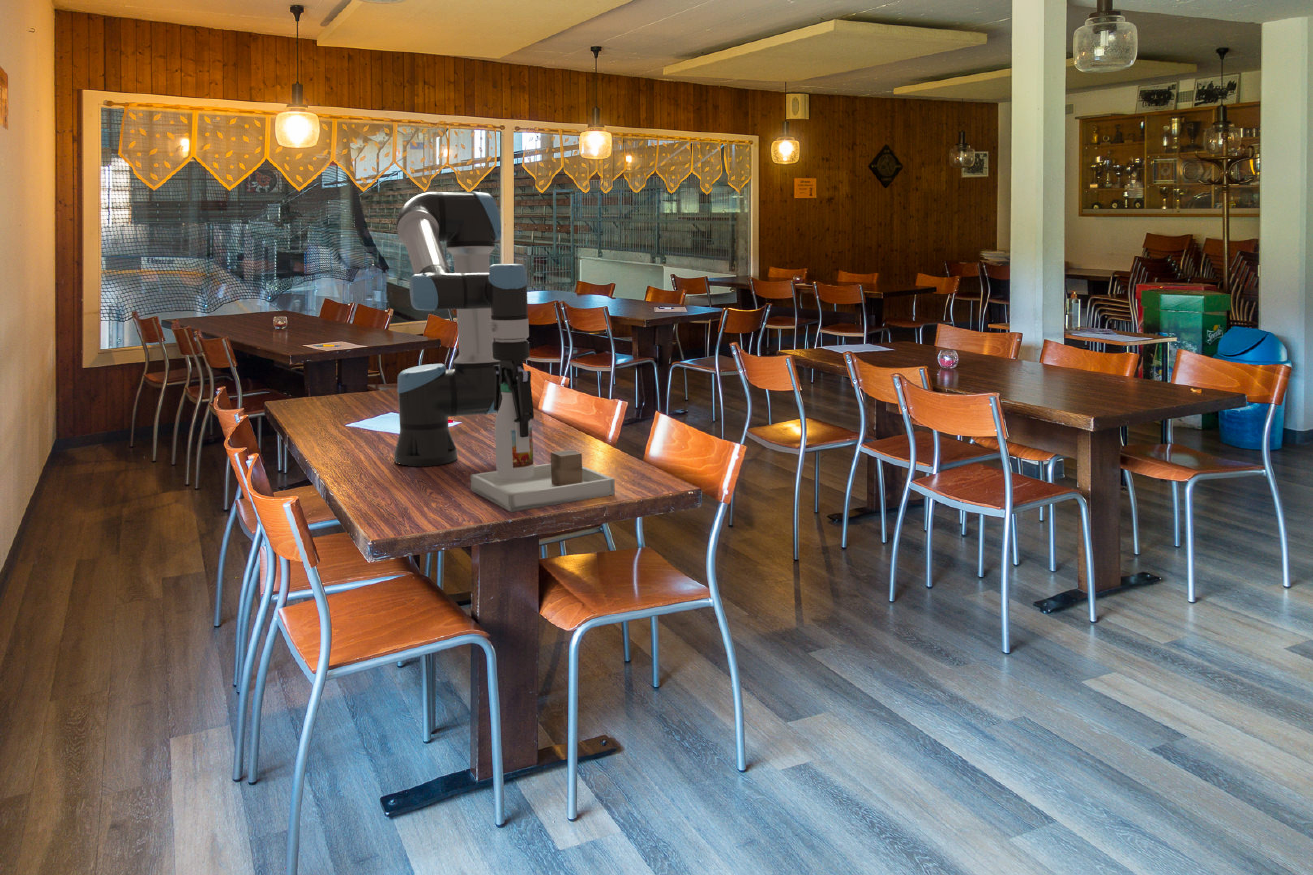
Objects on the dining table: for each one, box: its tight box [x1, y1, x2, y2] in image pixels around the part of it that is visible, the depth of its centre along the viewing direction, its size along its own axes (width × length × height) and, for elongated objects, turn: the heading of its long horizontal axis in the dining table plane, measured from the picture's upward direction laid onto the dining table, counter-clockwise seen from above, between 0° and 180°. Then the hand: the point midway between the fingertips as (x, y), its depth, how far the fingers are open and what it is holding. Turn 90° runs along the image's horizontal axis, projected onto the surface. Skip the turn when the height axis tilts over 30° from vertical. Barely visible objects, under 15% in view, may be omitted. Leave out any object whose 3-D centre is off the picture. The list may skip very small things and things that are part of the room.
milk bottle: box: [494, 383, 534, 480], centre depth 210 cm, size 8×8×20 cm
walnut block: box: [550, 449, 583, 486], centre depth 218 cm, size 5×5×7 cm
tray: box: [470, 462, 616, 513], centre depth 216 cm, size 21×24×4 cm
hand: (514, 448), depth 211 cm, fingers closed on milk bottle, 7 cm apart
